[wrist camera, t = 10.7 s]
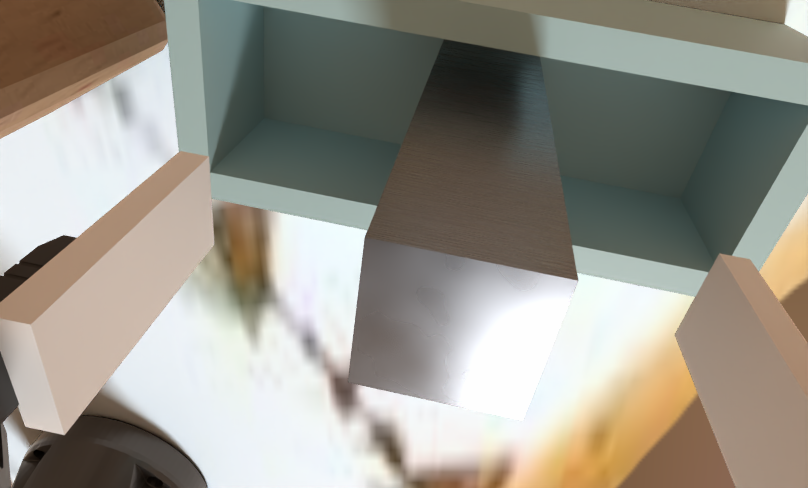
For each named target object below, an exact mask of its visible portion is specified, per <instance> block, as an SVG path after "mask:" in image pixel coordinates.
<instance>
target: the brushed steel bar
mask: <svg viewBox="0 0 808 488" xmlns="http://www.w3.org/2000/svg"><path fill="white" fill-rule="evenodd" d="M577 283H578V276H577V270H576V265H575V259H574V253H573V247H572V241H571V235H570V229H569V224H568V218H567V212H566V206H565V200H564V194H563V188H562V183H561V177H560V171H559V165H558V159H557V153H556V147H555V142H554V136H553V130H552V124H551V118H550V112H549V106H548V101H547V95H546V89H545V83H544V77H543V71H542V65H541V60H540V56H534V55H529V54H523V53H518V52H512V51H507V50H502V49H496V48H491V47H485V46H480V45H474V44H469V43H463V42H458V41H452V40H447V39H444V40H443V43H442V45H441V48H440V50H439V53H438V55H437V58H436V60H435V63H434V65H433V68H432V70H431V73H430V75H429V78H428V80H427V83H426V85H425V88H424V90H423V93H422V95H421V98H420V100H419V103H418V105H417V108H416V110H415V113H414V115H413V118H412V120H411V123H410V125H409V128H408V130H407V133H406V135H405V138H404V140H403V143H402V145H401V148H400V150H399V153H398V155H397V158H396V160H395V163H394V165H393V168H392V170H391V173H390V175H389V178H388V180H387V183H386V185H385V188H384V190H383V193H382V196H381V198H380V201H379V203H378V206H377V208H376V211H375V213H374V216H373V218H372V221H371V223H370V226H369V228H368V231H367V233H366V236H365V240H364V249H363V257H362V266H361V274H360V283H359V291H358V300H357V308H356V317H355V325H354V334H353V342H352V351H351V359H350V368H349V377H348V383H353V384H358V385H362V386H367V387H371V388H376V389H381V390H385V391H390V392H394V393H399V394H403V395H408V396H413V397H417V398H422V399H426V400H431V401H436V402H440V403H445V404H449V405H454V406H458V407H463V408H468V409H472V410H477V411H481V412H486V413H491V414H495V415H500V416H504V417H509V418H513V419H518V420H523V418H524V415H525V413H526V410H527V408H528V405H529V403H530V400H531V398H532V395H533V393H534V390H535V388H536V385H537V383H538V380H539V378H540V375H541V373H542V370H543V368H544V365H545V363H546V360H547V358H548V355H549V353H550V350H551V348H552V345H553V343H554V340H555V338H556V335H557V333H558V330H559V328H560V325H561V323H562V320H563V318H564V315H565V313H566V310H567V308H568V305H569V303H570V300H571V298H572V295H573V293H574V290H575V288H576V285H577Z"/></svg>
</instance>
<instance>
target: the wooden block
mask: <svg viewBox="0 0 808 488" xmlns="http://www.w3.org/2000/svg"><path fill="white" fill-rule="evenodd" d="M167 42H168V36H167V26H166V16H165V14H164V12H163V10H162V9H161V7H160V6H159V4H158V3H157V1H156V0H0V139H1V138H3V137H5V136H6V135H8V134H10V133H12V132H14V131H16V130H18V129H20V128H22V127H24V126H26V125H28V124H30V123H32V122H34V121H36V120H37V119H39V118H41V117H43V116H45V115H47V114H49V113H51V112H53V111H54V110H56V109H58V108H60V107H62V106H63V105H65V104H67V103H69V102H71V101H72V100H74V99H76V98H78V97H80V96H81V95H83V94H85V93H87V92H89V91H90V90H92V89H94V88H96V87H98V86H99V85H101V84H103V83H105V82H106V81H108V80H110V79H112V78H114V77H115V76H117V75H119V74H121V73H123V72H124V71H126V70H128V69H130V68H132V67H133V66H135V65H137V64H139V63H141V62H142V61H144V60H146V59H148V58H150V57H151V56H153V55H155V54H157V53H159V52H160V51H162V50H163V49H164V47H165V46H166V44H167Z"/></svg>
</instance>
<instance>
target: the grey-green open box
mask: <svg viewBox="0 0 808 488" xmlns="http://www.w3.org/2000/svg"><path fill="white" fill-rule="evenodd" d="M164 6H165V16H166V26H167V36H168V46H169V57H170V67H171V77H172V87H173V97H174V107H175V117H176V127H177V137H178V147H179V152H180V151H183V152H188V153H194V154H199V155H204V156H209V164H210V181H211V198H212V199H216V200H221V201H226V202H231V203H236V204H241V205H246V206H251V207H255V208H260V209H265V210H270V211H275V212H280V213H285V214H290V215H295V216H300V217H305V218H310V219H315V220H320V221H324V222H329V223H334V224H339V225H344V226H349V227H354V228H359V229H364V230H368V228H369V226H370V223H371V221H372V218H373V216H374V213H375V211H376V208H377V206H378V203H379V201H380V198H381V196H382V193H383V190H384V188H385V185H386V183H387V180H388V178H389V175H390V173H391V170H392V168H393V165H394V163H395V160H396V158H397V155H398V153H399V150H400V148H401V145H402V143H403V140H404V138H405V135H406V133H407V130H408V128H409V125H410V123H411V120H412V118H413V115H414V113H415V110H416V108H417V105H418V103H419V100H420V98H421V95H422V93H423V90H424V88H425V85H426V83H427V80H428V78H429V75H430V73H431V70H432V68H433V65H434V63H435V60H436V58H437V55H438V53H439V50H440V48H441V45H442V43H443V40H444V39H447V40H452V41H458V42H463V43H469V44H474V45H480V46H485V47H491V48H496V49H502V50H507V51H512V52H518V53H523V54H529V55H534V56H540V60H541V65H542V71H543V77H544V83H545V89H546V95H547V101H548V106H549V112H550V118H551V124H552V130H553V136H554V142H555V147H556V153H557V159H558V165H559V171H560V177H561V183H562V188H563V194H564V200H565V206H566V212H567V218H568V224H569V229H570V235H571V241H572V247H573V253H574V259H575V265H576V270H577V273H581V274H586V275H591V276H596V277H601V278H605V279H610V280H615V281H620V282H625V283H630V284H635V285H640V286H645V287H650V288H655V289H660V290H665V291H670V292H674V293H679V294H684V295H689V296H694V297H696V295H697V293H698V291H699V289H700V288H701V286H702V284H703V282H704V280H705V278H706V277H707V275H708V273H709V271H710V269H711V268H712V266H713V264H714V262H715V260H716V258H717V257H718V255H719V253H720V254H725V255H730V256H736V257H741V258H746V259H750V260H751V261H752V263H753V264H754V266H755V267H756V268H757V270H758V271H760V269H761V268H762V266H763V264H764V263H765V261H766V260H767V258H768V256H769V255H770V253H771V252H772V250H773V248H774V247H775V245H776V244H777V242H778V240H779V239H780V237H781V236H782V234H783V232H784V231H785V229H786V228H787V226H788V224H789V223H790V221H791V220H792V218H793V216H794V215H795V213H796V212H797V210H798V208H799V207H800V205H801V204H802V202H803V200H804V199H805V197H806V196H807V194H808V37H807V36H805V35H804V34H802V33H800V32H798V31H796V30H794V29H792V28H791V27H789V26H787V25H785V24H780V23H774V22H768V21H763V20H757V19H751V18H745V17H740V16H734V15H728V14H723V13H717V12H711V11H706V10H700V9H694V8H689V7H683V6H677V5H672V4H666V3H660V2H654V1H649V0H164Z"/></svg>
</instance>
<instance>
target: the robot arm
mask: <svg viewBox="0 0 808 488" xmlns="http://www.w3.org/2000/svg"><path fill="white" fill-rule="evenodd" d="M213 245H214V232H213V215H212V198H211V181H210V164H209V156H204V155H199V154H194V153H188V152H183V151H180V152H179V153H177V154H176V155H175V156H174V157H173V158H171V159H170V160H169V161H168V162H167V163H166V164H164V165H163V166H162V167H161V168H160V169H158V170H157V171H156V172H155V173H154V174H152V175H151V176H150V177H149V178H148V179H146V180H145V181H144V182H143V183H142V184H141V185H139V186H138V187H137V188H136V189H135V190H133V191H132V192H131V193H130V194H129V195H127V196H126V197H125V198H124V199H123V200H122V201H120V202H119V203H118V204H117V205H116V206H114V207H113V208H112V209H111V210H110V211H108V212H107V213H106V214H105V215H104V216H102V217H101V218H100V219H99V220H98V221H97V222H95V223H94V224H93V225H92V226H91V227H89V228H88V229H87V230H86V231H85V232H83V233H82V234H81V235H80V236H79V237H77V238H75V237H70V236H65V235H63V236H61V237H58V238H56V239H54V240H51V241H49V242H47V243H45V244H42V245H40V246H38V247H37V248H35V249H34V250H33V251H32V252H30V253H29V254H28V255H26V256H25V257H24V258H23V259H21V260H20V263H19V264H15V265H14V266H13V267H11V268H10V269H9V270H7V271H6V272H5V273H4V276H0V488H11V481H10V468H9V456H8V443H7V433H6V430H5V428H4V425H3V421H4V420H5V419H6V418H7V417H8V416H9V415H10V414H11V413H12V412H13V411H14V410H15V408H16V407H17V406H18V408H19V411H20V413H21V416H22V419H23V422H24V425H25V427H29V428H33V429H38V430H43V432H42V434H41V435H40V436H39V437H38V438H37V440H36V441H35V442H34V443H33V444H32V446H31V447H30V448H29V449H28V451H27V453H26V454H25V456H24V459H23V461H22V463H21V466H20V468H19V471H18V473H17V476H16V478H15V481H14V483H13V485H12V488H207V486H206V484H205V482H204V480H203V478H202V476H201V474H200V473H199V472H198V470H197V469H196V468H195V467H194V465H193V464H192V463H191V462H190V461H189V460H188V459H187V458H186V457H185V456H183V455H182V454H181V453H180V452H179V451H177V450H176V449H175V448H173V447H172V446H171V445H169V444H168V443H166V442H164V441H163V440H161V439H159V438H158V437H156V436H154V435H152V434H150V433H148V432H146V431H144V430H142V429H139V428H137V427H134V426H132V425H129V424H126V423H123V422H119V421H116V420H112V419H107V418H101V417H93V416H80V415H81V414H82V412H83V411H84V410H85V409H86V407H87V406H88V405H89V403H90V402H91V401H92V400H93V398H94V397H95V396H96V395H97V393H98V392H99V391H100V389H101V388H102V387H103V386H104V384H105V383H106V382H107V381H108V379H109V378H110V377H111V375H112V374H113V373H114V372H115V370H116V369H117V368H118V367H119V365H120V364H121V363H122V361H123V360H124V359H125V358H126V356H127V355H128V354H129V352H130V351H131V350H132V349H133V347H134V346H135V345H136V344H137V342H138V341H139V340H140V338H141V337H142V336H143V335H144V333H145V332H146V331H147V330H148V328H149V327H150V326H151V324H152V323H153V322H154V321H155V319H156V318H157V317H158V316H159V314H160V313H161V312H162V310H163V309H164V308H165V307H166V305H167V304H168V303H169V302H170V300H171V299H172V298H173V296H174V295H175V294H176V293H177V291H178V290H179V289H180V287H181V286H182V285H183V284H184V282H185V281H186V280H187V279H188V277H189V276H190V275H191V273H192V272H193V271H194V270H195V268H196V267H197V266H198V265H199V263H200V262H201V261H202V259H203V258H204V257H205V256H206V254H207V253H208V252H209V251H210V249H211V248H212V247H213ZM675 337H676V340H677V342H678V345H679V347H680V350H681V352H682V355H683V357H684V360H685V362H686V365H687V367H688V370H689V372H690V375H691V377H692V380H693V382H694V385H695V387H696V390H697V392H698V395H699V397H700V400H701V402H702V405H703V407H704V410H705V412H706V414H707V417H708V420H709V422H710V425H711V427H712V430H713V432H714V435H715V437H716V439H717V442H718V445H719V447H720V450H721V452H722V454H723V457H724V460H725V462H726V465H727V467H728V469H729V472H730V474H731V477H732V480H733V482H734V485H735V487H736V488H808V343H807V342H806V340H805V339H804V337H803V336H802V334H801V333H800V332H799V330H798V328H797V327H796V326H795V324H794V323H793V321H792V320H791V318H790V317H789V315H788V314H787V312H786V311H785V309H784V308H783V307H782V305H781V304H780V302H779V301H778V299H777V298H776V296H775V295H774V293H773V292H772V290H771V289H770V288H769V286H768V285H767V283H766V282H765V280H764V279H763V277H762V276H761V274H760V273H759V271H758V270H757V268H756V267H755V266H754V264H753V263H752V261H751V260H750V259H746V258H741V257H736V256H730V255H725V254H720V253H719V255H718V257H717V258H716V260H715V262H714V264H713V266H712V268H711V269H710V271H709V273H708V275H707V277H706V278H705V280H704V282H703V284H702V286H701V288H700V289H699V291H698V293H697V295H696V297H695V299H694V300H693V302H692V304H691V306H690V308H689V309H688V311H687V313H686V315H685V317H684V319H683V320H682V322H681V324H680V326H679V328H678V329H677V331H676V333H675Z"/></svg>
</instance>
